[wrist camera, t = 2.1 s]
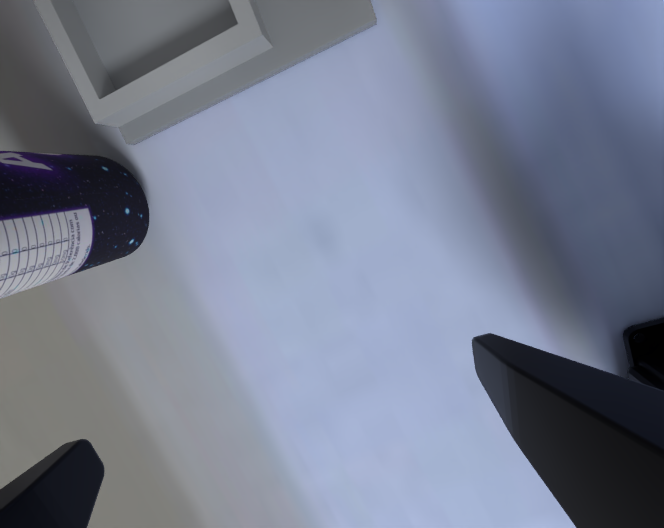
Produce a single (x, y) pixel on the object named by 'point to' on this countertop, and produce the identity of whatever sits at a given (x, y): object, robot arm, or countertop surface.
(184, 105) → the socket plate
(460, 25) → the countertop surface
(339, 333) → the countertop surface
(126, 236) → the beverage can
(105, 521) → the countertop surface
